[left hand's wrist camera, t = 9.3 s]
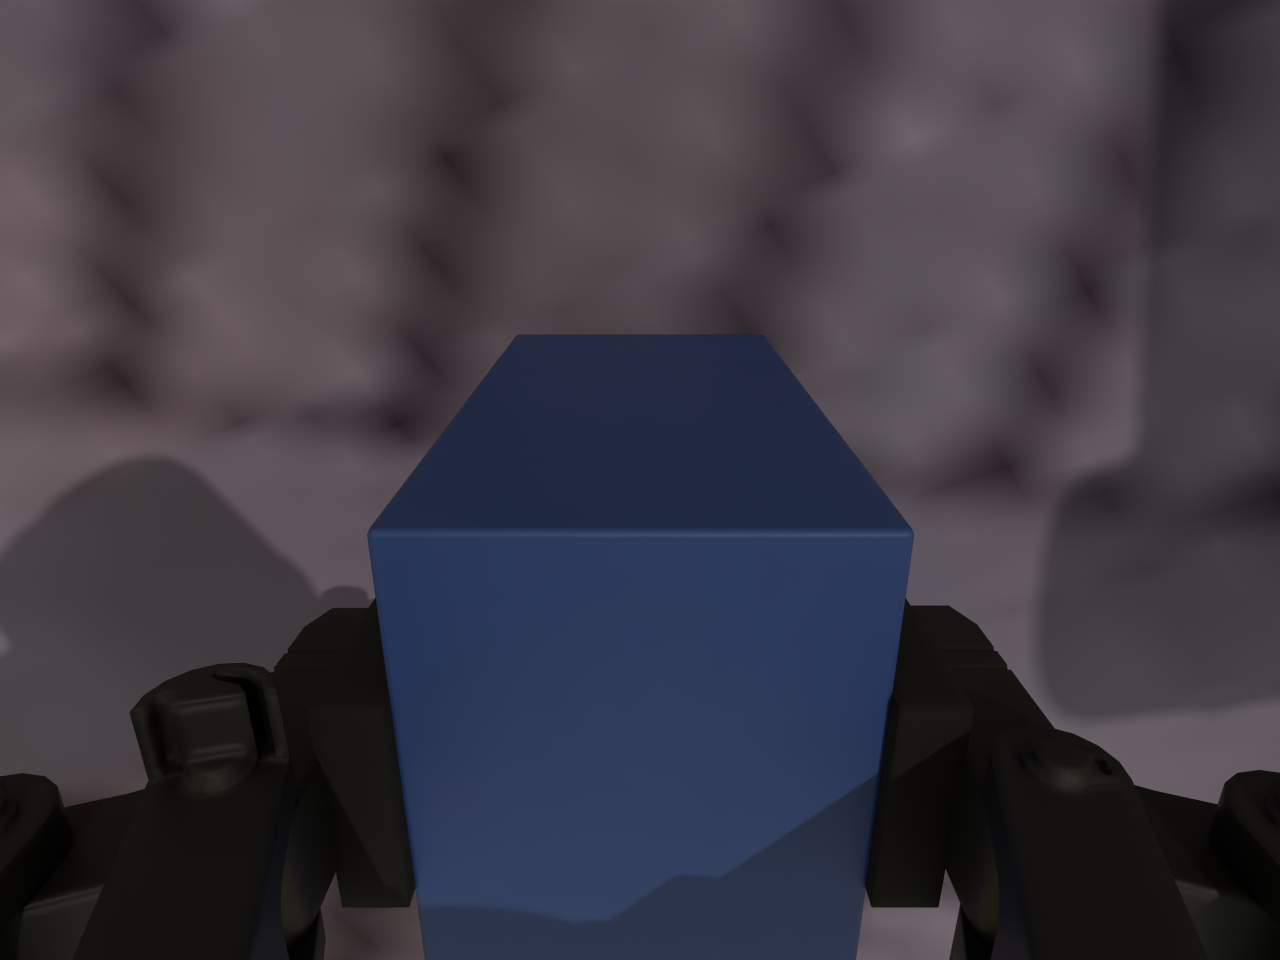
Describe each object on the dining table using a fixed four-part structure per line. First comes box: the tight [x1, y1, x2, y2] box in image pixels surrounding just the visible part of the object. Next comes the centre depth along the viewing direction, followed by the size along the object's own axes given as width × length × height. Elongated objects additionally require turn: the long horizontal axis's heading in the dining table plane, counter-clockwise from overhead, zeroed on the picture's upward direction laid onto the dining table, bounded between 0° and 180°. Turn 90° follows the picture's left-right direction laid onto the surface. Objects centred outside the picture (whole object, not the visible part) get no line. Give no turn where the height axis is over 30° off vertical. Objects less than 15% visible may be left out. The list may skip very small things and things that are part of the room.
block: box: [367, 335, 914, 960], centre depth 13 cm, size 5×7×10 cm
